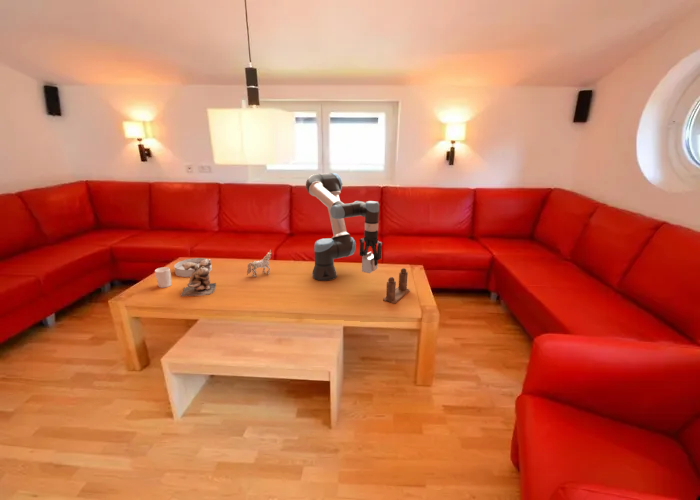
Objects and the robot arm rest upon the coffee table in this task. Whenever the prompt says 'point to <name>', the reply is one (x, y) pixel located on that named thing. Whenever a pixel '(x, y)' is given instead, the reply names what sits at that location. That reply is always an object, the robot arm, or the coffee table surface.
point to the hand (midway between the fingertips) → (369, 269)
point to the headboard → (399, 292)
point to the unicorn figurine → (259, 265)
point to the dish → (188, 273)
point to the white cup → (163, 277)
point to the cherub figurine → (199, 279)
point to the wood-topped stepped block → (367, 263)
